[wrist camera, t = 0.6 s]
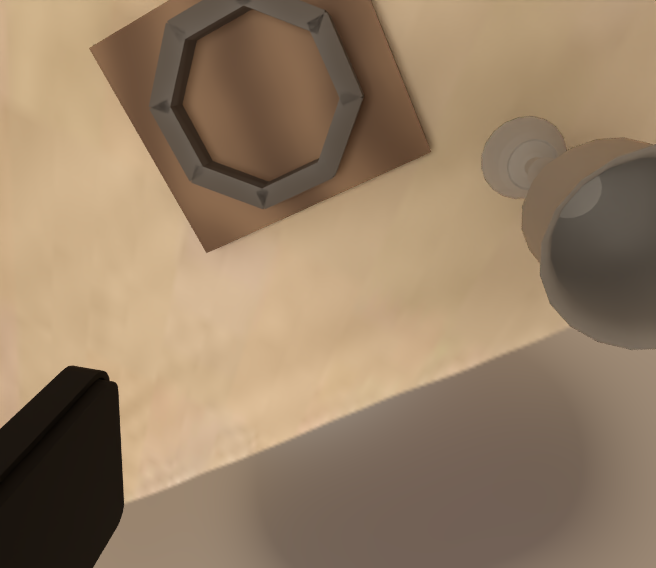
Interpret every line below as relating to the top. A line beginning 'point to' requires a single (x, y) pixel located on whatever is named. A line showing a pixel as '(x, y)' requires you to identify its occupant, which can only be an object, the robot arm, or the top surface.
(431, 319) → the top surface
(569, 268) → the chalice
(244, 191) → the display stand
